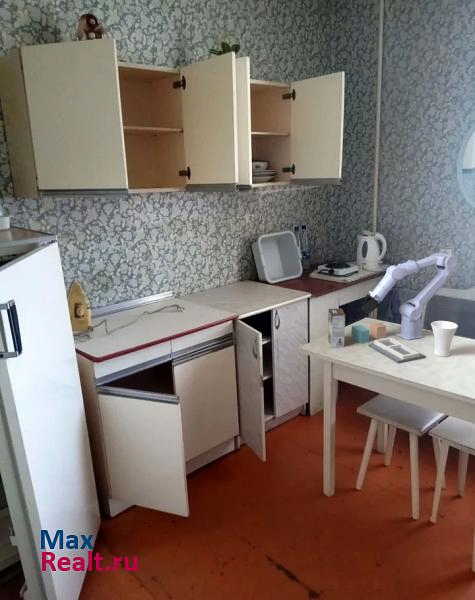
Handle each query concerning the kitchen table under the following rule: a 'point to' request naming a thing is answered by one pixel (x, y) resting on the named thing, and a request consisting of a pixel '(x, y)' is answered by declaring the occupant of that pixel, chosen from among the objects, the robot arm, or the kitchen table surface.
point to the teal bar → (360, 334)
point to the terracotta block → (378, 330)
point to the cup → (443, 337)
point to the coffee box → (336, 327)
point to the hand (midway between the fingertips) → (364, 312)
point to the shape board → (396, 350)
